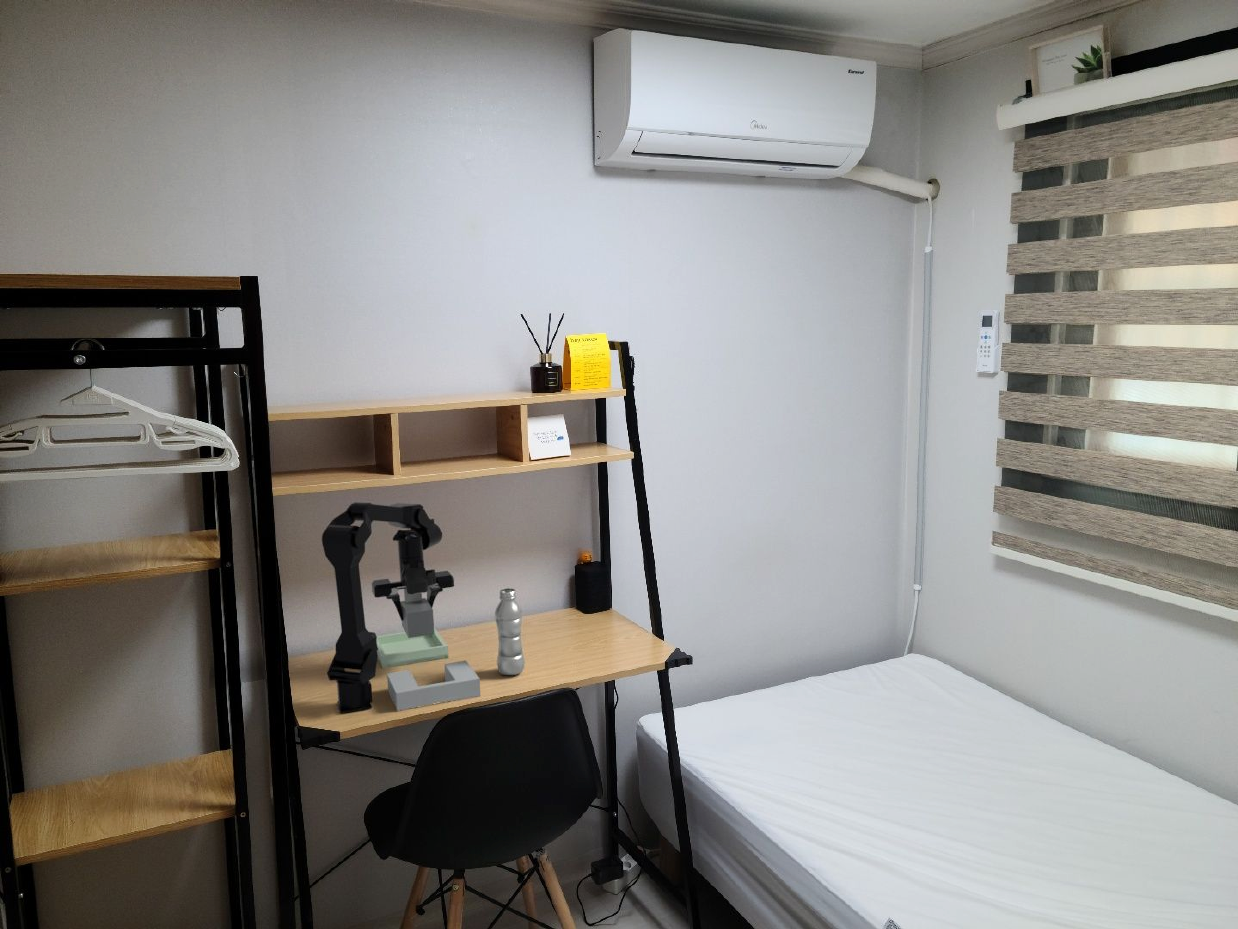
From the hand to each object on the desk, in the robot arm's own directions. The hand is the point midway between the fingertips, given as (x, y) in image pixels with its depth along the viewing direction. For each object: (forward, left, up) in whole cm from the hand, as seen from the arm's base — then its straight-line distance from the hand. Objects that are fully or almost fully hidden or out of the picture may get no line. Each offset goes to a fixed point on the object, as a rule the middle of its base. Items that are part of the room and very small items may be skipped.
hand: (415, 618), depth 216 cm
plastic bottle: (+19, -16, -12) cm, 27 cm away
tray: (0, +9, -12) cm, 14 cm away
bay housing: (0, -19, -12) cm, 22 cm away
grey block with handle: (0, -3, -2) cm, 3 cm away
